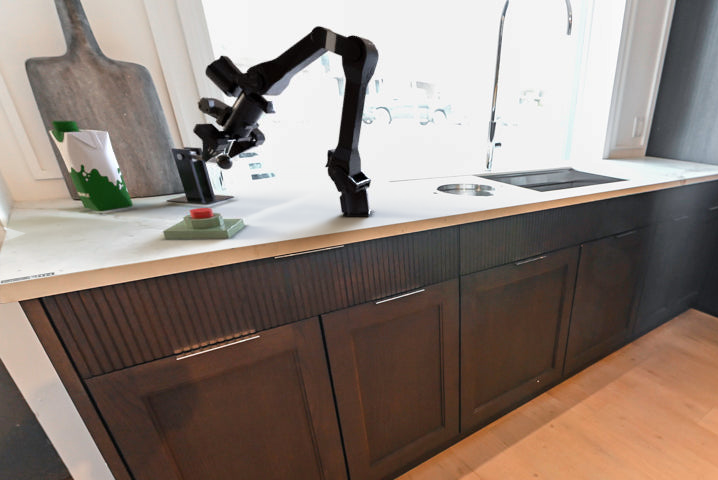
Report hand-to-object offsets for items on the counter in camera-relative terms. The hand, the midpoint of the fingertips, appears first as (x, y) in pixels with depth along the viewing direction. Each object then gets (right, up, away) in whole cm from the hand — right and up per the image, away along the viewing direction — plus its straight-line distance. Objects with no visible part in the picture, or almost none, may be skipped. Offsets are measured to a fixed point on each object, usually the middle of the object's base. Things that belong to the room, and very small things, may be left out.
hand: (217, 158), depth 110 cm
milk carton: (-24, -15, -4) cm, 28 cm away
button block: (+9, -23, -17) cm, 31 cm away
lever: (-3, -1, +1) cm, 4 cm away
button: (+10, -21, -19) cm, 30 cm away
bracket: (-8, -9, +6) cm, 14 cm away
